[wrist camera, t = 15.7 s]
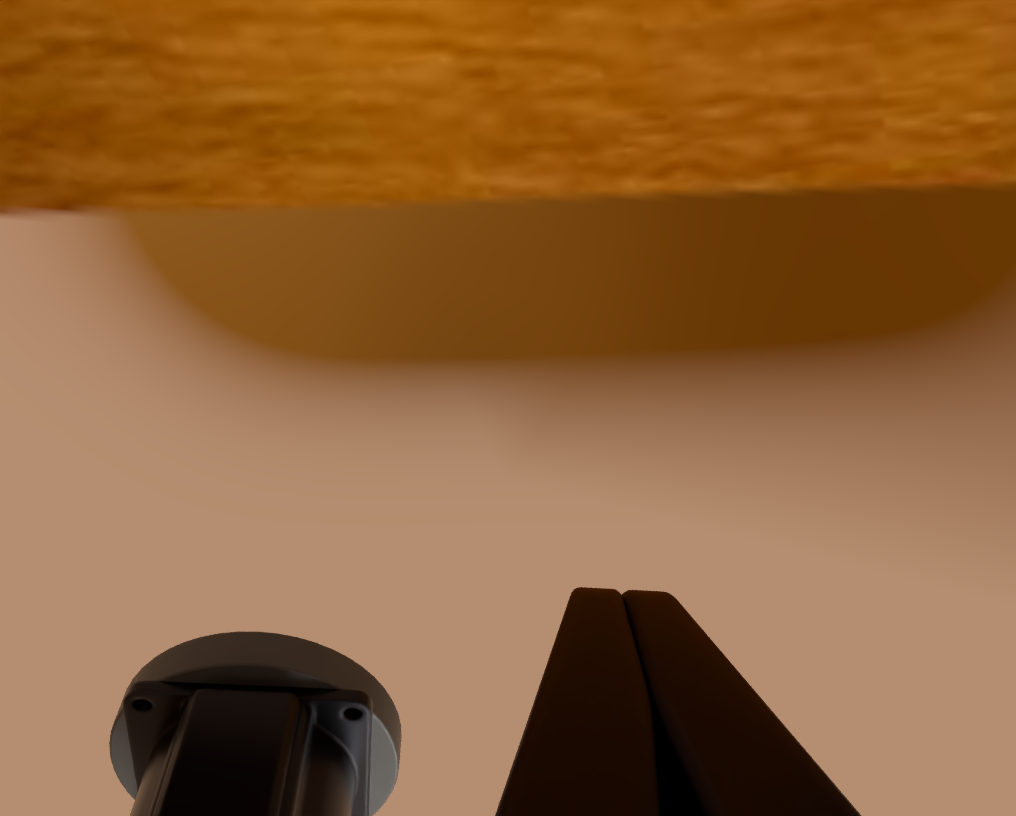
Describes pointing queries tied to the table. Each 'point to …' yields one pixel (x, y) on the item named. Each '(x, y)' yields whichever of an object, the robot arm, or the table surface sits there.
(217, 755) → the robot arm
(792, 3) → the table surface
